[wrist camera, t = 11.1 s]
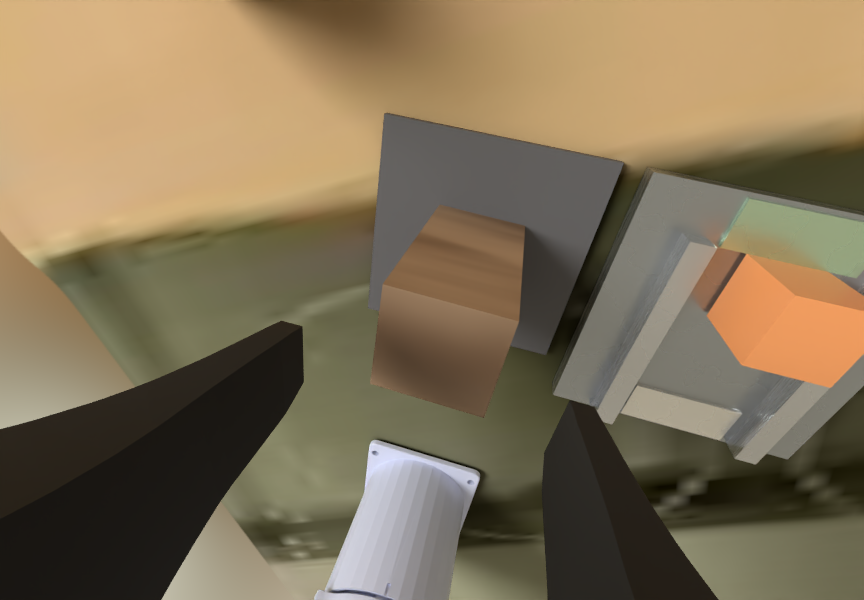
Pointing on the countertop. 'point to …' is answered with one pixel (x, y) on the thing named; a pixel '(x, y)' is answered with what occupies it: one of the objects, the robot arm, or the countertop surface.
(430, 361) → the block
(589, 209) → the rubber mat
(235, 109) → the countertop surface
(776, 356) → the orange cube
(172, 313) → the countertop surface
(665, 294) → the grey tray
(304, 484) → the countertop surface
